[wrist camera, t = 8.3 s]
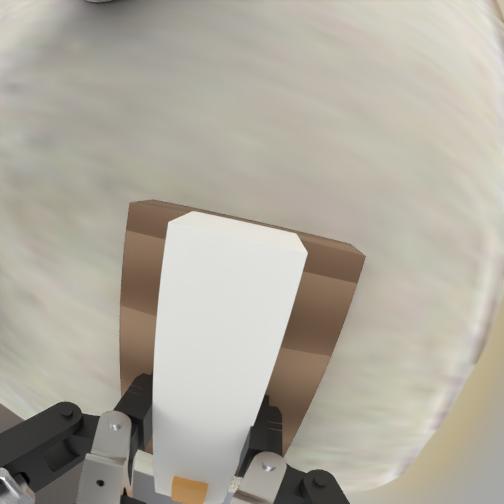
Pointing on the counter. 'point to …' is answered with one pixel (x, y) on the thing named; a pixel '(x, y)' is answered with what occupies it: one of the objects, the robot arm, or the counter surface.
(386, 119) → the counter surface
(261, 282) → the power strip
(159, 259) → the mounting board
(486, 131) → the counter surface
